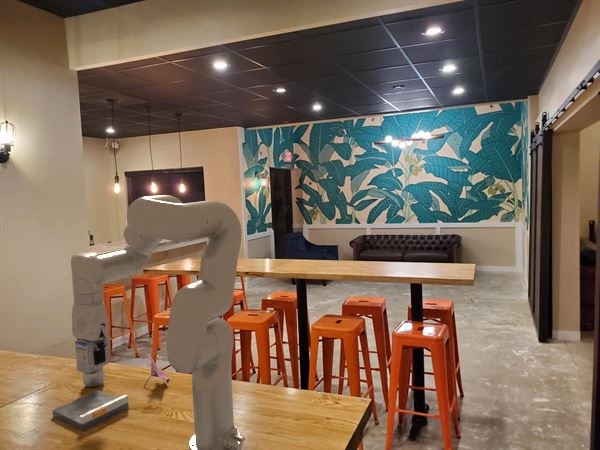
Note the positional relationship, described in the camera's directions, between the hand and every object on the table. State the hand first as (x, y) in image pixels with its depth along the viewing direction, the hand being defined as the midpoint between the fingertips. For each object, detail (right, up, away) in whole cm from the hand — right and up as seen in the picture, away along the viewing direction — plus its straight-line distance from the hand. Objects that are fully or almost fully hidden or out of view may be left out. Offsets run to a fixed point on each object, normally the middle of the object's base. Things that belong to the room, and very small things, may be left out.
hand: (93, 360), depth 130 cm
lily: (+12, -14, +20) cm, 27 cm away
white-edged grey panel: (-2, -16, +3) cm, 16 cm away
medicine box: (0, -2, 0) cm, 2 cm away
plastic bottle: (-9, -14, +21) cm, 27 cm away
